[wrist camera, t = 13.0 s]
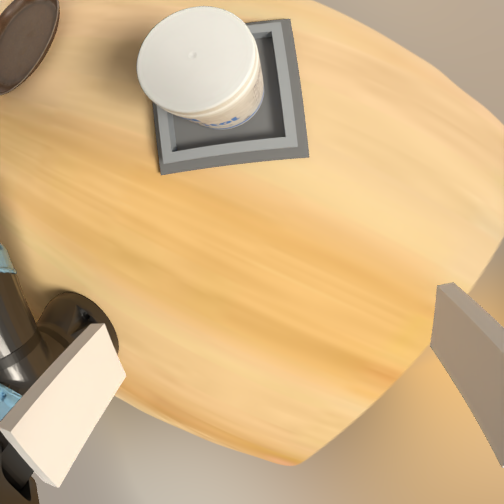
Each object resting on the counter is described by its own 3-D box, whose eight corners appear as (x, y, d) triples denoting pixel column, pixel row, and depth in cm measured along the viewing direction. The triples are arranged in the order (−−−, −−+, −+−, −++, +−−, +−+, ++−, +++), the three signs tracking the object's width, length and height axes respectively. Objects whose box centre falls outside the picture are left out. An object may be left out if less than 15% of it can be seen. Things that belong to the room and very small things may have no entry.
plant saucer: (88, -11, 29) (77, -18, 26) (37, 104, 36) (24, 102, 33) (20, -5, 29) (9, -10, 25) (-20, 89, 35) (-31, 89, 32)
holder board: (163, 174, 38) (154, 176, 35) (151, 46, 32) (142, 39, 30) (308, 157, 35) (310, 157, 33) (289, 22, 30) (290, 12, 27)
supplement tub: (189, 135, 35) (135, 127, 21) (182, 64, 32) (129, 22, 18) (270, 125, 34) (264, 104, 20) (261, 51, 31) (249, -6, 17)
